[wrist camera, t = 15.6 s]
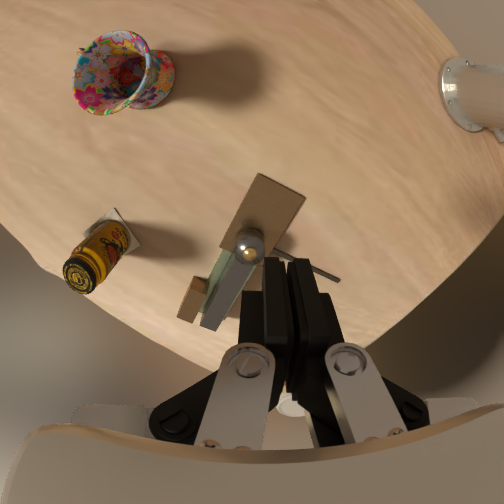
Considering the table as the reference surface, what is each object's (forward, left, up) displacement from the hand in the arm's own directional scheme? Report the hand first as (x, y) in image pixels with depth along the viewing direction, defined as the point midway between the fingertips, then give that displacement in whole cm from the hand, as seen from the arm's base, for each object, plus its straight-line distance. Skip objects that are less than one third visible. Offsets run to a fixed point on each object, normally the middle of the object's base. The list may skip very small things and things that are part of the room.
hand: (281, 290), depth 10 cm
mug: (+21, -5, -27) cm, 34 cm away
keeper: (-2, +20, -27) cm, 33 cm away
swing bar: (-4, +17, -26) cm, 31 cm away
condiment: (+17, +20, -27) cm, 38 cm away
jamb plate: (-10, +7, -27) cm, 29 cm away
